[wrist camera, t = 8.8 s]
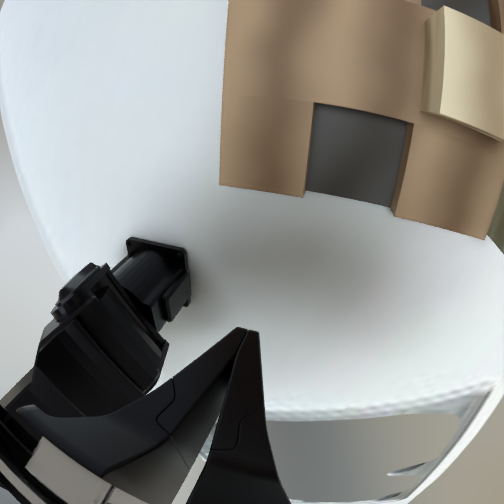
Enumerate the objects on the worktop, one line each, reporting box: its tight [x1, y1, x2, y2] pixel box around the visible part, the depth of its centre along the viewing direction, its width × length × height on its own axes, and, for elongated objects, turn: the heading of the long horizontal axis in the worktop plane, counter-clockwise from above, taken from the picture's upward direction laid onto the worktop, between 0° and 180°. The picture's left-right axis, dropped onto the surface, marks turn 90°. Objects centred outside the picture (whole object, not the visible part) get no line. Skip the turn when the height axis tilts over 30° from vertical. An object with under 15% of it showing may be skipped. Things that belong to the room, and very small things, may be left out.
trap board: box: [219, 0, 504, 254], centre depth 11 cm, size 20×20×5 cm
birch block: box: [420, 6, 504, 143], centre depth 9 cm, size 6×6×4 cm
